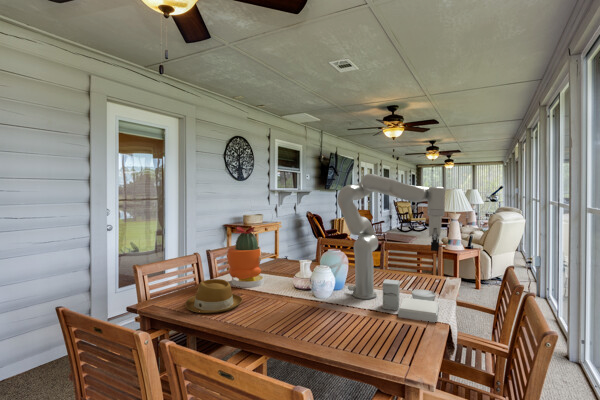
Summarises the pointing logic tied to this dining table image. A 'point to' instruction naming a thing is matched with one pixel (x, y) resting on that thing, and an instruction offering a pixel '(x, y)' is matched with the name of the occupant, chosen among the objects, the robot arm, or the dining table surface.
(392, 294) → the supplement box
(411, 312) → the stand
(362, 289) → the robot arm
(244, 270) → the potted cactus
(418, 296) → the ramekin
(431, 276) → the dining table surface
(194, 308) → the fedora
